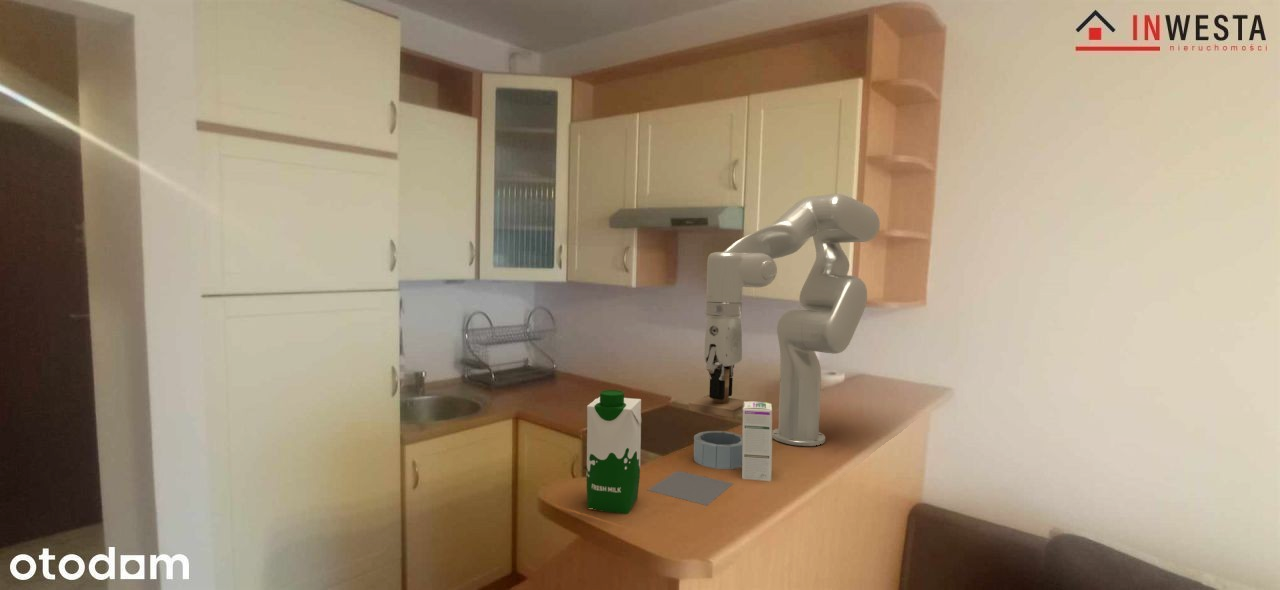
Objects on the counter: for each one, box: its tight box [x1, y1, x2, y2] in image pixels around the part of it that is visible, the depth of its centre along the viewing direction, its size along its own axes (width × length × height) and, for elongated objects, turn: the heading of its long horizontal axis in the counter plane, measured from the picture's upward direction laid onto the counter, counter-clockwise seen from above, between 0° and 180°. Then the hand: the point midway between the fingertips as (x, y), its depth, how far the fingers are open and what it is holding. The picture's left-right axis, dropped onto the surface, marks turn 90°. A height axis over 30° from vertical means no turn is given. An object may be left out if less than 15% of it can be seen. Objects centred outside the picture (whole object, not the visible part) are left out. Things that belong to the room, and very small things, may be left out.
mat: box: [647, 470, 734, 507], centre depth 104 cm, size 12×12×1 cm
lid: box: [688, 368, 752, 418], centre depth 118 cm, size 10×10×8 cm
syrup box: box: [741, 400, 773, 482], centre depth 110 cm, size 6×6×14 cm
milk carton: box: [586, 389, 642, 515], centre depth 96 cm, size 9×9×20 cm
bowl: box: [693, 430, 742, 470], centre depth 119 cm, size 11×11×5 cm
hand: (720, 396), depth 118 cm, fingers closed on lid, 3 cm apart
